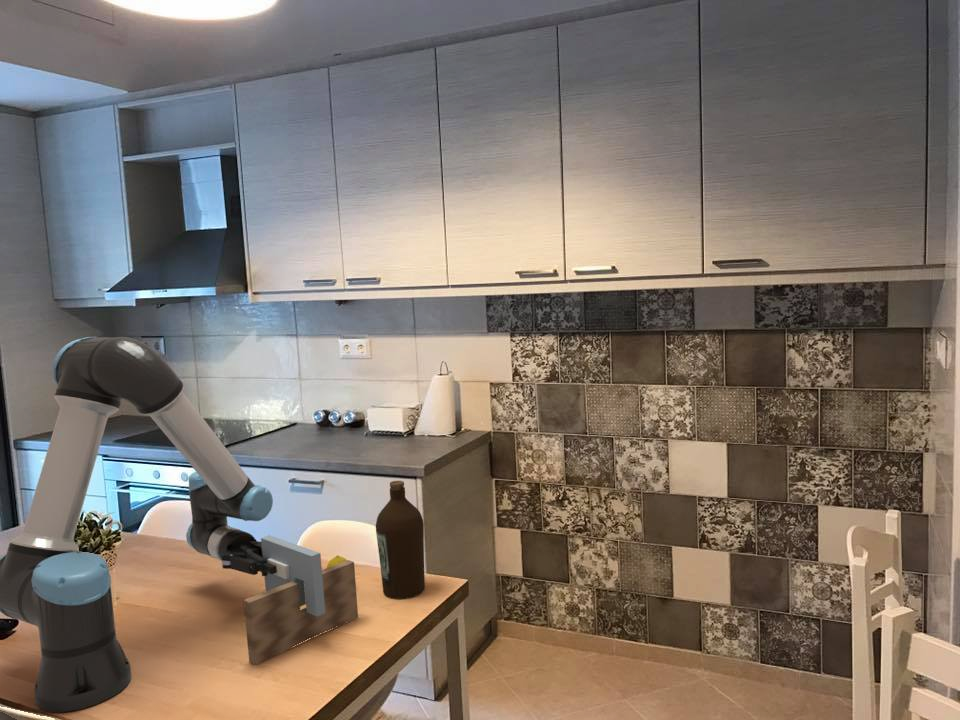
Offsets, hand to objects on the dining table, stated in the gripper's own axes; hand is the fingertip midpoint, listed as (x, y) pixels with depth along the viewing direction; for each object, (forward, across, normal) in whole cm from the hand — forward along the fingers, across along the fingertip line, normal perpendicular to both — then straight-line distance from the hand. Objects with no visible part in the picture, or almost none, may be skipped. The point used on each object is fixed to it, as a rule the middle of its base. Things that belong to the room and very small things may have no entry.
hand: (293, 570), depth 148 cm
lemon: (-11, -18, -13) cm, 25 cm away
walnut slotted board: (+4, +1, -13) cm, 13 cm away
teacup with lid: (-88, +5, -13) cm, 89 cm away
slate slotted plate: (-1, 0, -7) cm, 7 cm away
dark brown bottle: (+2, -26, -13) cm, 30 cm away
